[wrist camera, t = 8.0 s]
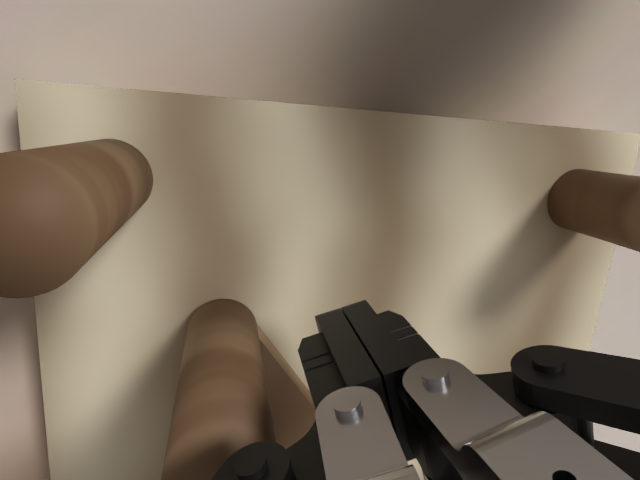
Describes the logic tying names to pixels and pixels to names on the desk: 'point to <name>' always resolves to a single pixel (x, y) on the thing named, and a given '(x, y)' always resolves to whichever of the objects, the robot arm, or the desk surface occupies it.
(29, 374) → the desk surface
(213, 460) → the swing leg
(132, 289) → the stool frame
